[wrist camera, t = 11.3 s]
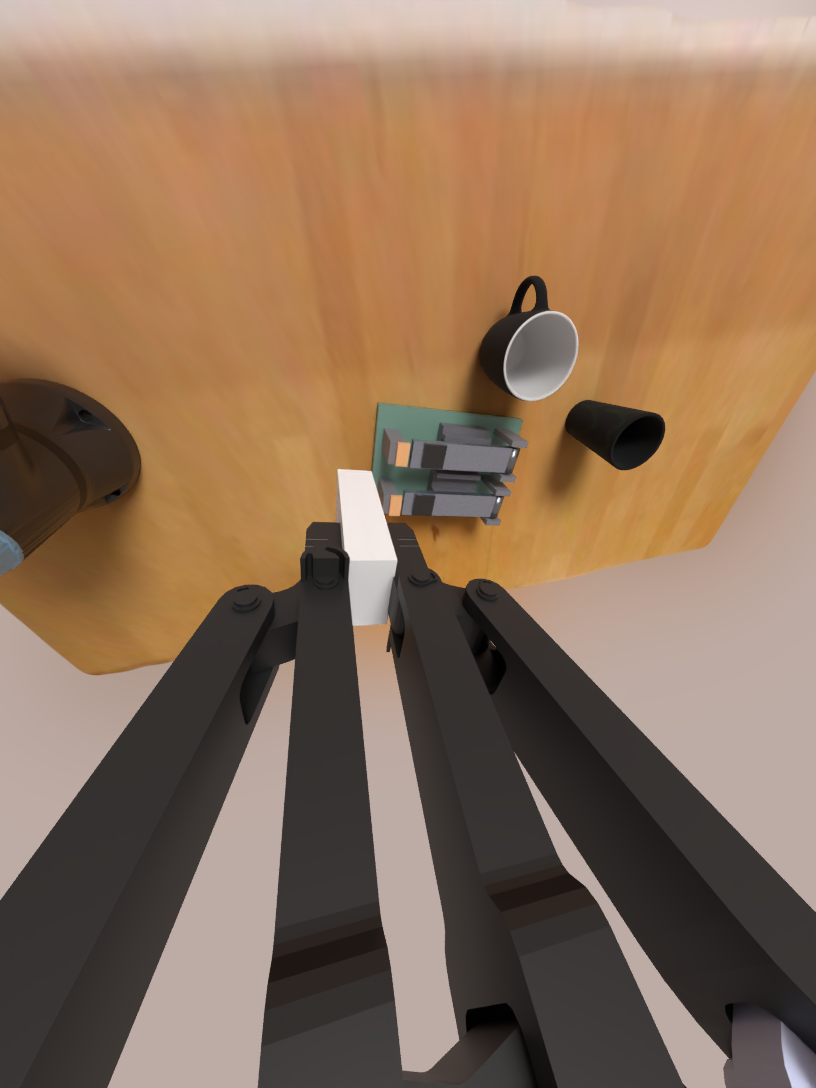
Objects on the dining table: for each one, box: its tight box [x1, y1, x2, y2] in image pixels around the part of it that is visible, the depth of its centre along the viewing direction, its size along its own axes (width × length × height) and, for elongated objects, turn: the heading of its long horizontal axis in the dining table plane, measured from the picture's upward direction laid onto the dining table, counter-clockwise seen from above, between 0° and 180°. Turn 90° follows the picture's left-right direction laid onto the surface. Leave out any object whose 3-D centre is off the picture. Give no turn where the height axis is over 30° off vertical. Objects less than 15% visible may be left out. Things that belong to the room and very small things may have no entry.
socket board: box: [372, 403, 528, 525], centre depth 50 cm, size 22×16×8 cm
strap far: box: [400, 490, 504, 518], centre depth 50 cm, size 16×4×2 cm, turn 81°
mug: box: [480, 276, 578, 401], centre depth 40 cm, size 12×9×10 cm
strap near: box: [408, 439, 520, 474], centre depth 46 cm, size 16×4×2 cm, turn 81°
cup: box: [566, 400, 665, 470], centre depth 49 cm, size 8×8×12 cm
